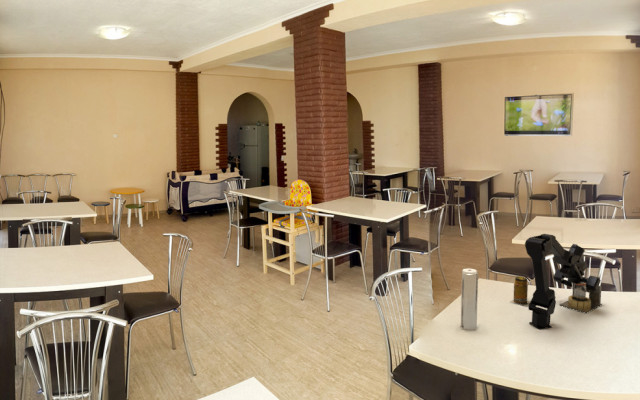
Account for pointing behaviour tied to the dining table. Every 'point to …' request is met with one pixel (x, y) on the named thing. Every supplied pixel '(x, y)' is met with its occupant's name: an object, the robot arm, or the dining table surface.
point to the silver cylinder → (469, 299)
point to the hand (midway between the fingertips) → (581, 288)
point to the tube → (580, 291)
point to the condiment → (520, 291)
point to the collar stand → (585, 305)
